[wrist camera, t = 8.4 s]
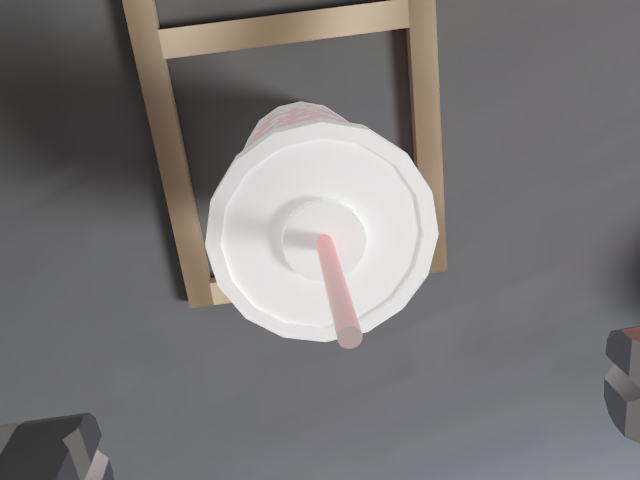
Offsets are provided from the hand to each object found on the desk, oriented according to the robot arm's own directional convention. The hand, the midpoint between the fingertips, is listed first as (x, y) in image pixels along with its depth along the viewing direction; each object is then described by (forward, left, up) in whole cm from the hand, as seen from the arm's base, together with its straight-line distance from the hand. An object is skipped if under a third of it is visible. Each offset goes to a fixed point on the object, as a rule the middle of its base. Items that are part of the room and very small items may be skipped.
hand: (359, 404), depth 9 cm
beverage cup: (0, 0, -16) cm, 16 cm away
